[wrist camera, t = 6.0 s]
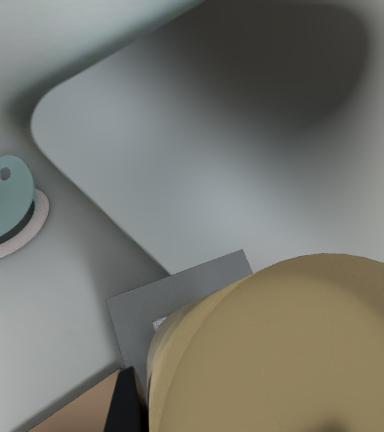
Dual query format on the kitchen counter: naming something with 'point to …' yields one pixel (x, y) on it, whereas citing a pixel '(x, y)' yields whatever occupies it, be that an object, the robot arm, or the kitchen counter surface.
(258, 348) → the gold metal cylinder
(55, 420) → the mat
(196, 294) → the housing
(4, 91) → the kitchen counter surface
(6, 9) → the kitchen counter surface
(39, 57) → the kitchen counter surface
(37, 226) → the pacifier
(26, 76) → the kitchen counter surface
